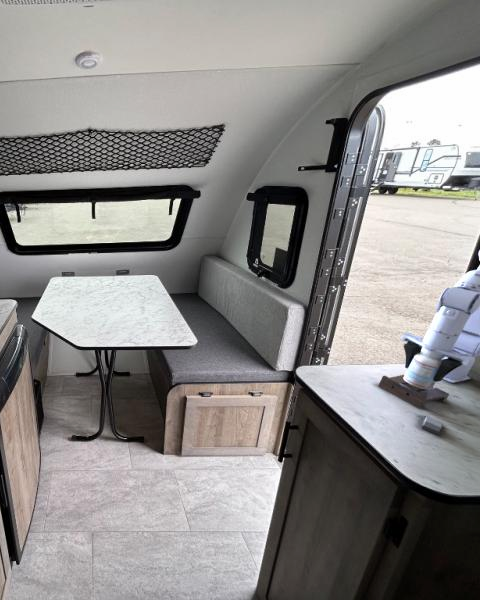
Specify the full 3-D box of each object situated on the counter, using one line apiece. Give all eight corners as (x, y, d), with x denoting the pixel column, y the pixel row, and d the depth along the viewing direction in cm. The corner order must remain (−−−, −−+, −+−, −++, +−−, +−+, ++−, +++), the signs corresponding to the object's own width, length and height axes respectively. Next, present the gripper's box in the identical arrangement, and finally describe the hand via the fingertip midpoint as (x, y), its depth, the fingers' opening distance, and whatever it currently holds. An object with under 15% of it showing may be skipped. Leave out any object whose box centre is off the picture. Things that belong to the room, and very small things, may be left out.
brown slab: (403, 380, 100) (408, 370, 99) (445, 401, 92) (451, 390, 90) (377, 386, 97) (382, 375, 96) (418, 408, 88) (424, 397, 87)
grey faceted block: (423, 417, 84) (427, 411, 84) (439, 424, 82) (443, 417, 81) (421, 428, 81) (424, 421, 80) (438, 435, 79) (442, 428, 78)
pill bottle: (418, 378, 96) (436, 345, 92) (437, 391, 90) (457, 356, 86) (397, 376, 96) (413, 343, 92) (414, 389, 91) (432, 354, 86)
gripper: (402, 321, 92) (383, 361, 97) (472, 345, 79) (446, 391, 84) (418, 319, 94) (399, 359, 99) (488, 342, 82) (462, 387, 87)
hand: (422, 373), depth 92 cm, fingers closed on pill bottle, 6 cm apart
